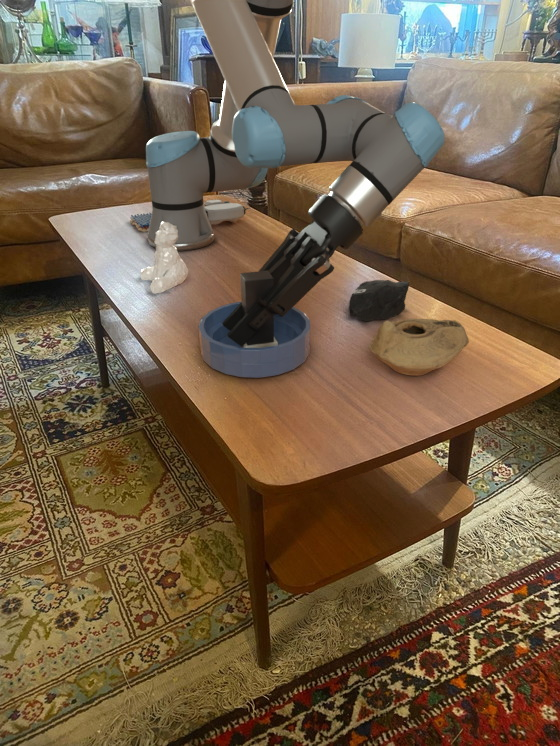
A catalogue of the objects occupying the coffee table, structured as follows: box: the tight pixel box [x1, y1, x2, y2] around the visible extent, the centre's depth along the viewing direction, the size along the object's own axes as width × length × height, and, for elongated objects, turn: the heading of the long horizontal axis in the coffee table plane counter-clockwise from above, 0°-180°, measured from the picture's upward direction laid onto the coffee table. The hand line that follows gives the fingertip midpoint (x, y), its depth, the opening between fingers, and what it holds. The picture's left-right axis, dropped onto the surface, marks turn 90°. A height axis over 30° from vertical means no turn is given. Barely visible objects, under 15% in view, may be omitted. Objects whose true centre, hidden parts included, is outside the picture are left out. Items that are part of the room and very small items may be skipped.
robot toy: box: [203, 199, 251, 225], centre depth 143 cm, size 12×4×15 cm
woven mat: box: [129, 212, 152, 233], centre depth 140 cm, size 10×11×2 cm
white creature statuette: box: [140, 221, 189, 295], centre depth 104 cm, size 10×9×12 cm
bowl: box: [198, 301, 311, 379], centre depth 82 cm, size 16×16×5 cm
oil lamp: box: [368, 318, 470, 376], centre depth 78 cm, size 11×15×8 cm
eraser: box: [239, 270, 278, 348], centre depth 78 cm, size 5×4×12 cm
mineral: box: [348, 279, 410, 322], centre depth 94 cm, size 10×9×6 cm
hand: (232, 334), depth 79 cm, fingers closed on eraser, 3 cm apart
